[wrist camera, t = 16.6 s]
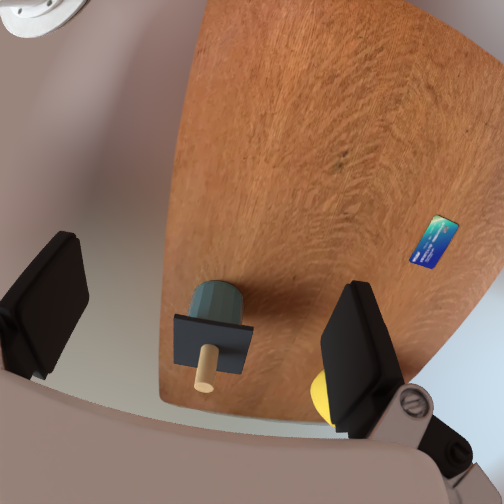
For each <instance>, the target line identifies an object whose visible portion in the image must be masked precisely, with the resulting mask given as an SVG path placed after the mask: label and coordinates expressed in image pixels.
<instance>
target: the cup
mask: <svg viewBox="0 0 504 504" xmlns="http://www.w3.org/2000/svg"><path fill="white" fill-rule="evenodd" d="M243 307H244V302H243V297H242V294H241V293H240V291H239V290H238V289H237V288H236V287H234V286H233V285H231V284H229V283H226V282H223V281H208V282H205V283H202V284H201V285H199V286H198V287H197V288H196V289H195V291H194V293H193V295H192V298H191V302H190V306H189V309H188V313H187V316H190V317H196V318H201V319H207V320H213V321H219V322H225V323H232V324H238V325H242V320H243Z"/></svg>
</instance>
